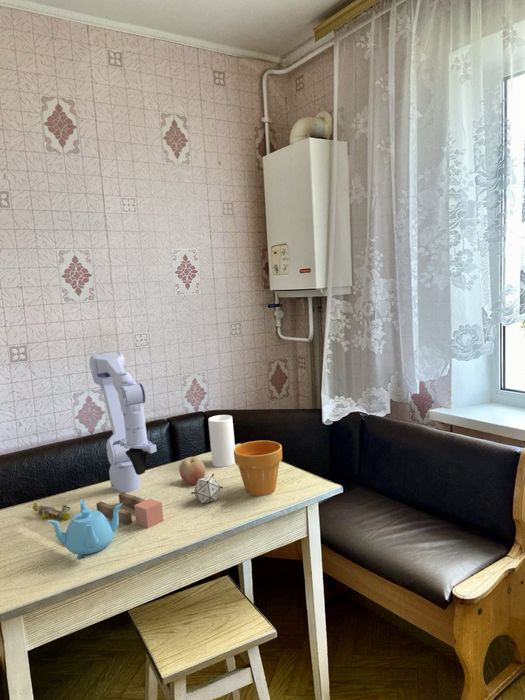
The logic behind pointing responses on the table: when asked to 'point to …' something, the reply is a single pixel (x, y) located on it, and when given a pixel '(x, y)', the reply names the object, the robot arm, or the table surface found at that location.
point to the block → (148, 512)
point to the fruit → (192, 470)
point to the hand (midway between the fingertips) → (140, 473)
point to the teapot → (87, 531)
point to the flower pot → (258, 465)
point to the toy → (52, 512)
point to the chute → (123, 514)
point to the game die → (206, 489)
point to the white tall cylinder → (222, 440)
